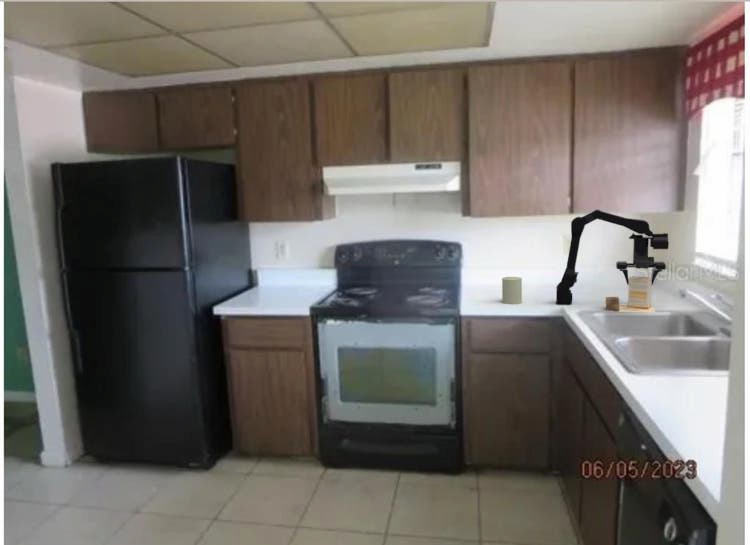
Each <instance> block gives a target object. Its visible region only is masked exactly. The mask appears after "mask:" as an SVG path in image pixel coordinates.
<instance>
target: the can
mask: <svg viewBox="0 0 750 545" xmlns="http://www.w3.org/2000/svg"><path fill="white" fill-rule="evenodd" d="M501 280H502V281H501V284H502V286H501V288H502V289H501V290H502V298H501V300H502V301H501V303H502V304H505V305H520V304H522V303H523V297H522V296H523V288H522V286H523V278H522V277H519V276H506V277H504V276H503V277H502V278H501Z"/></svg>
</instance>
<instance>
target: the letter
mask: <svg viewBox="0 0 750 545" xmlns="http://www.w3.org/2000/svg"><path fill="white" fill-rule="evenodd" d="M649 309H652V311H651V310H649ZM649 309H644V308H634V307H628V303H619V311H617V312H618V313H639V314H640V313H645V314H656V311H655V310H653V309H654V308H653V306H652V305H651V307H650V308H649Z"/></svg>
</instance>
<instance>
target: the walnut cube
mask: <svg viewBox="0 0 750 545" xmlns="http://www.w3.org/2000/svg"><path fill="white" fill-rule="evenodd" d="M619 304H620V297H619V296H605V309H606V312H607V311H608V312H609V311H610V312H611V311H612V312H615V311H617V312H618V311H619Z"/></svg>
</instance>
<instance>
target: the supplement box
mask: <svg viewBox="0 0 750 545" xmlns="http://www.w3.org/2000/svg"><path fill="white" fill-rule="evenodd" d="M628 280H629V285H628V291H627V294H628V299H627V304H628V307H634V308H644V309H649V308H650V307H651V306H652V286H653V285H652V277H650V276H630V277H629V276H628Z"/></svg>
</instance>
